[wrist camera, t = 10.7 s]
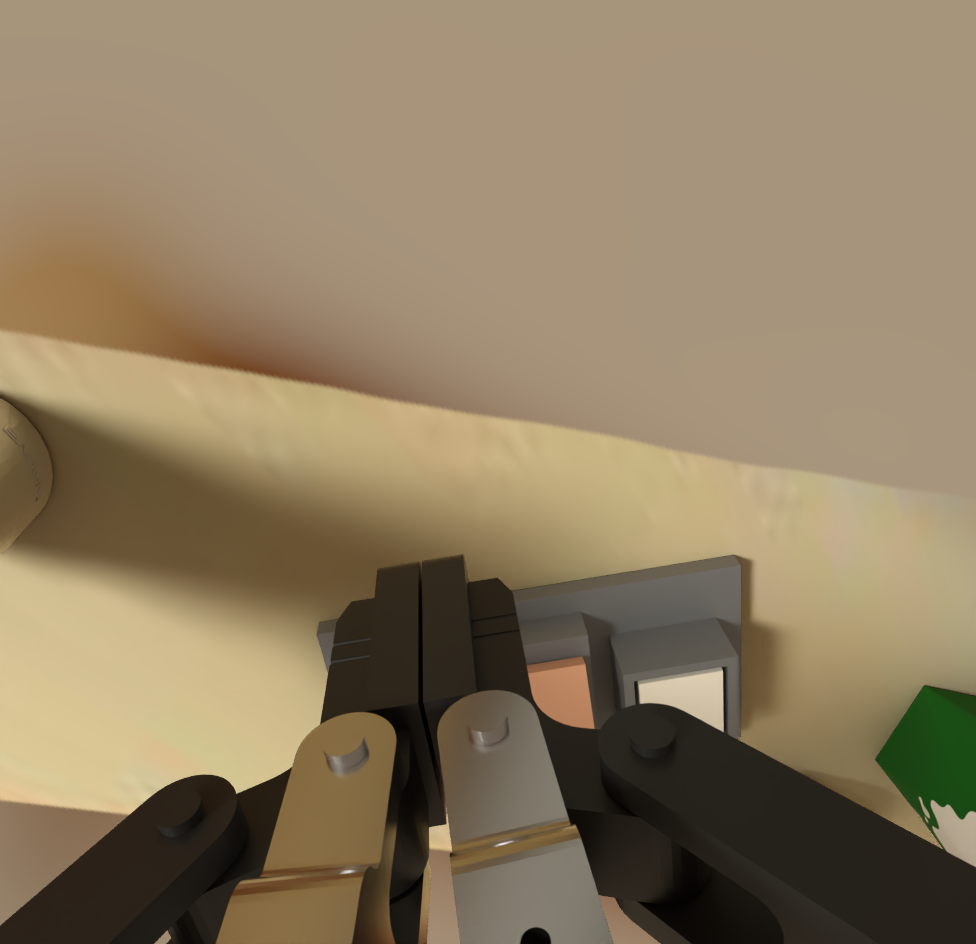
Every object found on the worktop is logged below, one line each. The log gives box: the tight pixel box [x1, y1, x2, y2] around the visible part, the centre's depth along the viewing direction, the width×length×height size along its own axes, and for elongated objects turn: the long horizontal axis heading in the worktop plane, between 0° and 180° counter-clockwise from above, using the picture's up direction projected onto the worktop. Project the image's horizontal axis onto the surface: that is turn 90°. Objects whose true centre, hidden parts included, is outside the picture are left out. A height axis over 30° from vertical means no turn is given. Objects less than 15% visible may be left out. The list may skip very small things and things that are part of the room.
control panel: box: [317, 555, 741, 740], centre depth 49 cm, size 26×14×5 cm, turn 98°
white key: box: [634, 667, 724, 732], centre depth 49 cm, size 5×5×4 cm
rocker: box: [527, 656, 595, 729], centre depth 47 cm, size 5×9×2 cm, turn 8°
